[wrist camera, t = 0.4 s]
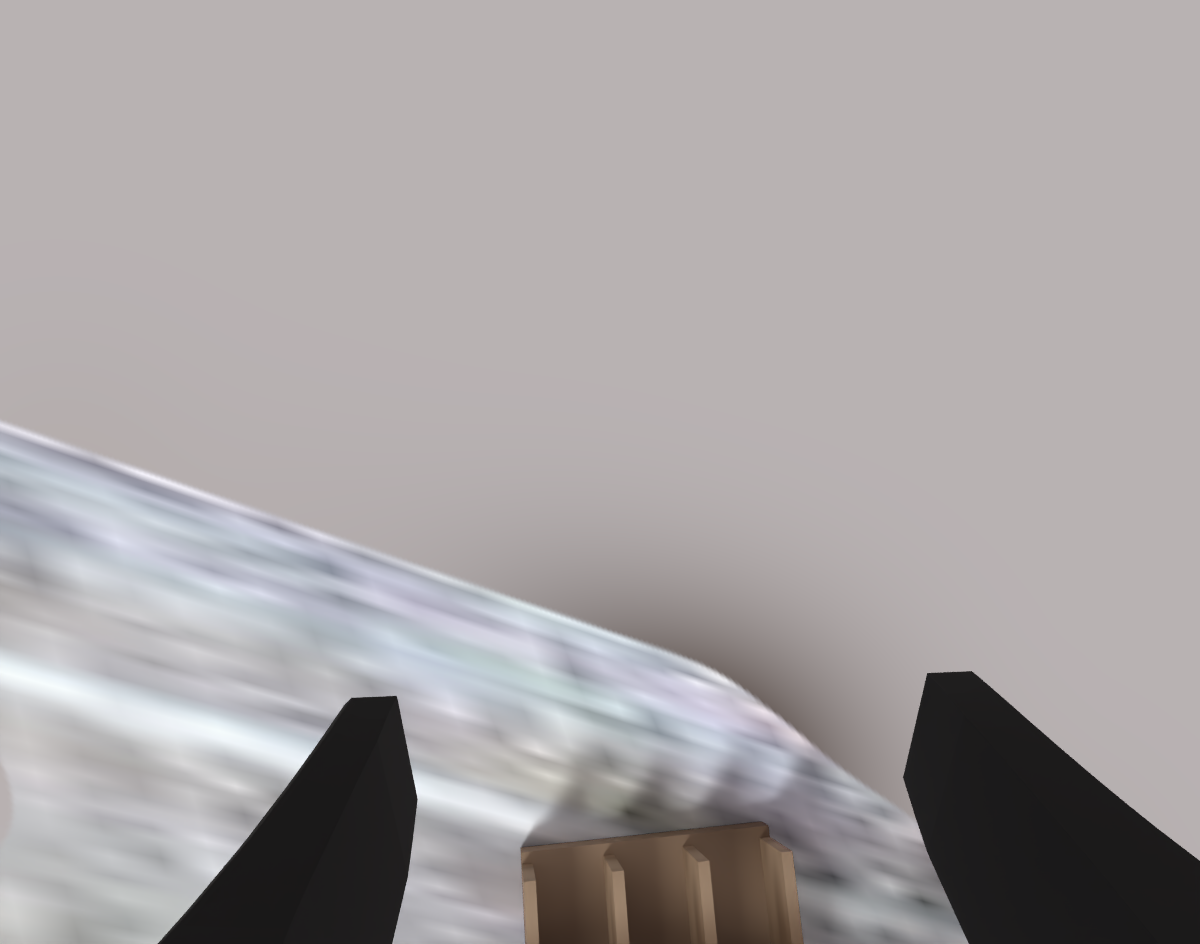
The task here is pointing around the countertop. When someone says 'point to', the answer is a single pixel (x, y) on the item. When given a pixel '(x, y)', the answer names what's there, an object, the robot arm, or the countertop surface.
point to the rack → (663, 889)
